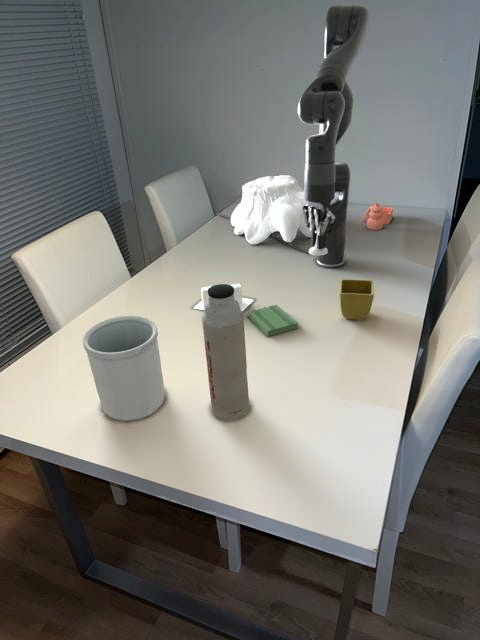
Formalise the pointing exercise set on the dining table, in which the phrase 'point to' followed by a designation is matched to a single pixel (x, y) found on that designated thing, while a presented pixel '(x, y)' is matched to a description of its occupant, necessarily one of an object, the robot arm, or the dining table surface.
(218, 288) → the thermos bottle
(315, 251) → the chess piece
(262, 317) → the green flat rectangular block
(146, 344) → the utensil holder
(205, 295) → the napkin holder
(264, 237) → the tree stump
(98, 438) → the dining table surface
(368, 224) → the pottery
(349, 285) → the flower pot
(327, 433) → the dining table surface
